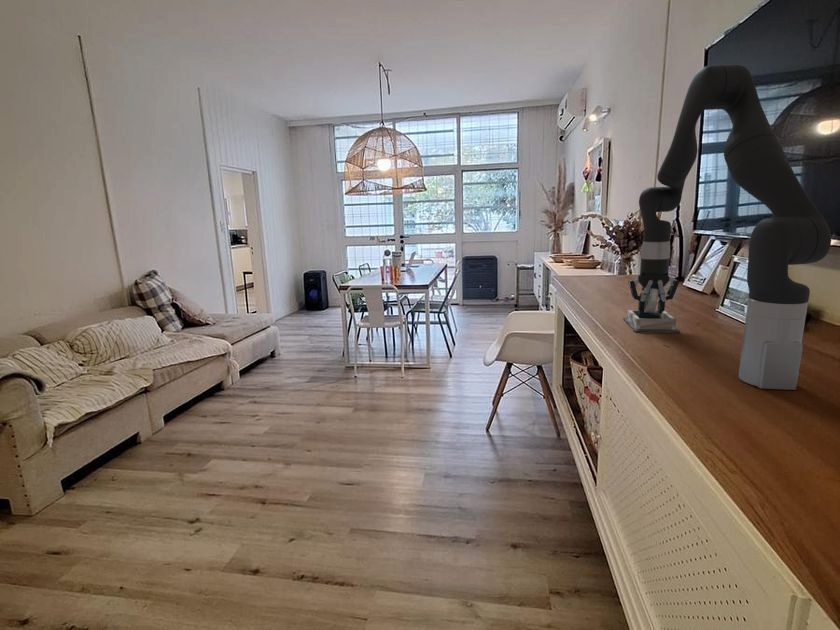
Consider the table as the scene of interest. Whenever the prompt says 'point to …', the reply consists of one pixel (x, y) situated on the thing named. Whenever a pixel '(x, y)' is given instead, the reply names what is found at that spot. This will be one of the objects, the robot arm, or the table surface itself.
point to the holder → (651, 323)
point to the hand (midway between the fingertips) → (651, 312)
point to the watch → (650, 305)
